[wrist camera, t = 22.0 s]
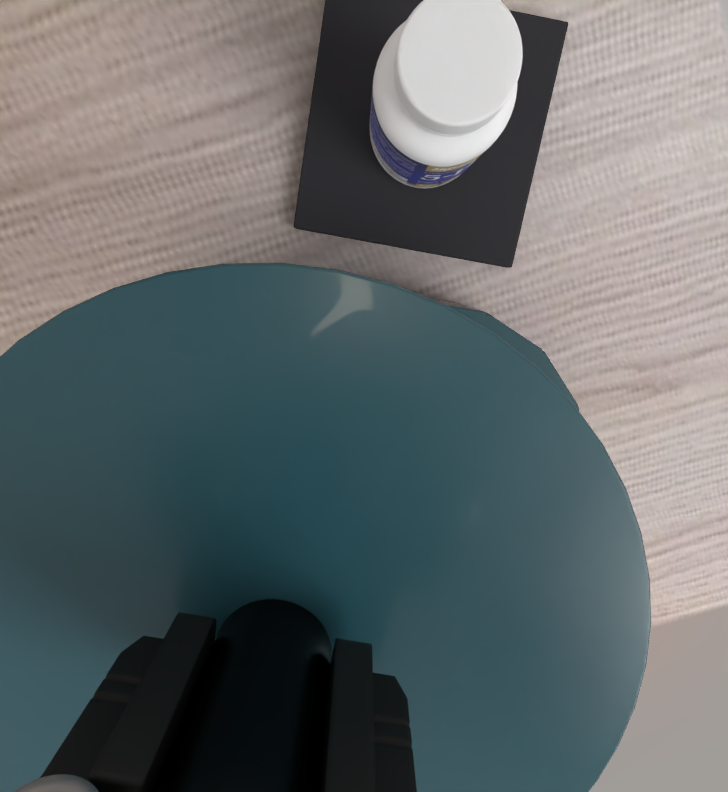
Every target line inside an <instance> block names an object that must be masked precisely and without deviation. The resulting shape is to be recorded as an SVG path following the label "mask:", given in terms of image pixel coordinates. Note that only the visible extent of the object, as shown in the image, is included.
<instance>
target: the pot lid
mask: <svg viewBox="0 0 728 792" xmlns="http://www.w3.org/2000/svg"><path fill="white" fill-rule="evenodd" d="M179 612H181V613H187V614H193V615H200V616H206V617H212V618H216V620H217V625H216V633H215V640H214V644H213V647H212V649H211V652H210V654H209V657H208V659H207V661H206V664H205V666H204V669H203V671H202V674H201V676H200V679H199V681H198V684H197V686H196V688H195V691H194V693H193V696H192V698H191V701H190V703H189V706H188V708H187V711H186V713H185V715H184V718H183V720H182V723H181V725H180V728H179V730H178V733H177V735H176V738H175V740H174V742H173V745H172V747H171V750H170V752H169V755H168V757H167V760H166V762H165V765H164V767H163V769H162V772H161V774H160V777H159V779H158V782H157V784H156V787H155V789H154V792H319V783H320V772H321V761H322V749H323V738H324V727H325V716H326V704H327V693H328V682H329V670H330V663H331V658H332V653H333V648H334V643H335V639H336V638H339V639H346V640H352V641H358V642H364V643H370V644H372V658H373V673H378V674H385V675H391V676H395V677H396V679H397V681H398V683H399V684H400V686H401V688H402V690H403V691H404V693H405V695H406V697H407V699H408V709H409V719H410V726H409V727H410V729H411V739H412V749H413V759H414V768H415V778H416V788H417V792H589V790H590V789H591V788H592V786H593V785H594V784H595V783H596V782H597V780H598V779H599V777H600V775H601V774H602V772H603V770H604V769H605V767H606V765H607V763H608V762H609V760H610V759H611V757H612V755H613V754H614V752H615V750H616V749H617V747H618V745H619V743H620V741H621V738H622V736H623V734H624V731H625V729H626V727H627V724H628V722H629V720H630V717H631V715H632V713H633V710H634V708H635V705H636V701H637V698H638V694H639V690H640V686H641V683H642V679H643V675H644V671H645V668H646V661H647V653H648V644H649V635H650V627H651V608H650V578H649V573H648V567H647V562H646V557H645V551H644V546H643V540H642V535H641V531H640V528H639V525H638V522H637V519H636V517H635V514H634V511H633V508H632V505H631V502H630V499H629V496H628V493H627V490H626V488H625V486H624V484H623V482H622V480H621V478H620V476H619V474H618V472H617V471H616V469H615V467H614V465H613V463H612V461H611V459H610V457H609V455H608V453H607V451H606V449H605V447H604V446H603V444H602V443H601V441H600V440H599V439H598V437H597V436H596V434H595V433H594V432H593V430H592V429H591V427H590V426H589V425H588V423H587V422H586V421H585V419H584V418H583V416H582V415H581V414H580V412H579V411H578V409H577V408H576V407H575V405H574V404H573V403H572V402H571V401H570V400H569V399H568V398H567V397H566V396H565V395H564V394H563V393H562V392H561V391H560V390H559V389H558V388H557V386H556V385H555V384H554V383H553V382H552V381H551V380H550V379H549V378H548V377H547V376H546V375H545V374H544V373H543V372H542V371H541V370H540V369H539V368H538V367H537V366H536V365H535V364H533V363H532V362H531V361H529V360H528V359H527V358H526V357H524V356H523V355H522V354H520V353H519V352H518V351H517V350H515V349H514V348H513V347H511V346H510V345H509V344H508V343H506V342H505V341H504V340H502V339H501V338H500V337H499V336H497V335H496V334H495V333H493V332H491V331H489V330H488V329H486V328H484V327H483V326H481V325H479V324H477V323H476V322H474V321H472V320H470V319H469V318H467V317H465V316H464V315H462V314H460V313H458V312H457V311H455V310H453V309H451V308H450V307H448V306H446V305H444V304H441V303H439V302H436V301H434V300H431V299H429V298H426V297H424V296H422V295H419V294H417V293H414V292H412V291H409V290H407V289H404V288H402V287H400V286H397V285H395V284H391V283H388V282H384V281H380V280H376V279H372V278H368V277H365V276H361V275H357V274H353V273H349V272H345V271H341V270H336V269H328V268H319V267H311V266H303V265H295V264H286V263H236V264H218V265H211V266H205V267H198V268H191V269H185V270H178V271H172V272H166V273H163V274H159V275H156V276H153V277H149V278H146V279H142V280H139V281H136V282H132V283H129V284H126V285H122V286H119V287H115V288H113V289H110V290H108V291H106V292H104V293H102V294H99V295H97V296H95V297H93V298H91V299H89V300H86V301H84V302H82V303H80V304H78V305H75V306H73V307H71V308H69V309H67V310H65V311H63V312H61V313H60V314H58V315H57V316H55V317H54V318H52V319H50V320H49V321H47V322H46V323H44V324H43V325H41V326H40V327H38V328H37V329H35V330H33V331H32V332H30V333H29V334H27V335H26V336H24V337H23V338H21V339H20V340H18V341H17V342H16V343H15V344H14V345H13V346H12V347H10V348H9V349H8V350H7V351H6V352H5V353H4V354H3V355H1V356H0V792H14V791H15V790H16V789H18V788H20V787H22V786H23V785H25V784H27V783H29V782H32V781H34V780H36V779H39V778H40V777H41V775H42V774H43V773H44V771H45V770H46V768H47V766H48V765H49V763H50V762H51V760H52V759H53V757H54V756H55V754H56V752H57V751H58V749H59V748H60V746H61V745H62V743H63V742H64V740H65V738H66V737H67V735H68V734H69V732H70V731H71V729H72V728H73V726H74V724H75V723H76V721H77V720H78V718H79V717H80V715H81V714H82V712H83V710H84V709H85V707H86V706H87V704H88V703H89V701H90V700H91V698H92V699H93V697H94V693H95V692H96V690H97V689H98V687H99V686H100V684H101V682H102V681H103V679H105V678H106V675H107V673H108V671H109V670H110V668H111V667H112V665H113V664H114V662H115V661H116V659H117V657H118V656H119V654H120V653H121V652H122V651H123V650H125V649H126V648H127V647H129V646H130V645H132V644H133V643H134V642H136V641H137V640H138V639H140V638H141V637H142V636H150V637H156V638H162V639H164V637H165V635H166V633H167V631H168V630H169V628H170V626H171V624H172V622H173V621H174V619H175V617H176V615H177V614H178V613H179Z"/></svg>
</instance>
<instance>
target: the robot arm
mask: <svg viewBox="0 0 728 792" xmlns="http://www.w3.org/2000/svg"><path fill="white" fill-rule="evenodd" d="M216 625H217V620H216V618H212V617H206V616H200V615H193V614H187V613H181V612H179V613H178V614H177V615H176V617H175V619H174V621H173V622H172V624H171V626H170V628H169V630H168V631H167V633H166V635H165V637H164V639H162V638H156V637H150V636H142V637H141V638H140V639H138V640H137V641H136V642H134V643H133V644H132V645H130V646H129V647H127V648H126V649H125V650H123V651H122V652H121V653H120V654H119V656H118V657H117V659H116V661H115V662H114V664H113V665H112V667H111V668H110V670H109V671H108V673H107V675H106V678H105V679H103V681H102V682H101V684H100V686H99V687H98V689H97V690H96V692H95V693H94V697H93V699H92V698H91V700H90V701H89V703H88V704H87V706H86V707H85V709H84V710H83V712H82V714H81V715H80V717H79V718H78V720H77V721H76V723H75V724H74V726H73V728H72V729H71V731H70V732H69V734H68V735H67V737H66V738H65V740H64V742H63V743H62V745H61V746H60V748H59V749H58V751H57V752H56V754H55V756H54V757H53V759H52V760H51V762H50V763H49V765H48V766H47V768H46V770H45V771H44V773H43V774H42V775H41V777H40V778H39V779H36V780H34V781H32V782H29V783H27V784H25V785H23V786H22V787H20V788H18V789H16V790H15V791H14V792H154V789H155V787H156V784H157V782H158V779H159V777H160V774H161V772H162V769H163V767H164V765H165V762H166V760H167V757H168V755H169V752H170V750H171V747H172V745H173V742H174V740H175V738H176V735H177V733H178V730H179V728H180V725H181V723H182V720H183V718H184V715H185V713H186V711H187V708H188V706H189V703H190V701H191V698H192V696H193V693H194V691H195V688H196V686H197V684H198V681H199V679H200V676H201V674H202V671H203V669H204V666H205V664H206V661H207V659H208V657H209V654H210V652H211V649H212V647H213V644H214V640H215V633H216ZM409 726H410V719H409V709H408V699H407V697H406V695H405V693H404V691H403V690H402V688H401V686H400V684H399V683H398V681H397V679H396V677H395V676H391V675H385V674H378V673H373V658H372V644H370V643H364V642H358V641H352V640H346V639H339V638H336V639H335V643H334V648H333V653H332V658H331V663H330V670H329V682H328V693H327V704H326V716H325V727H324V738H323V749H322V761H321V772H320V783H319V792H417V788H416V778H415V768H414V759H413V749H412V739H411V729H410V727H409Z"/></svg>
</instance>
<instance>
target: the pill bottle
mask: <svg viewBox="0 0 728 792" xmlns="http://www.w3.org/2000/svg"><path fill="white" fill-rule="evenodd" d="M522 58H523V51H522V40H521V36H520V32H519V29H518V26H517V24H516V21H515V19H514V18H513V16H512V14H511V13H510V11H509V10H508V8H507V7H506V6H505V5H504V4H503V3H502V2H501V1H500V0H423V1H422V2H421V3H420V4H419V5H418V6H417V7H416V8H415V9H414V11H413V12H412V13H411V15H410V16H409V17H408V19H407V20H406V21H405V22H404V23H402V24H401V25H400V26H399V27H398V28H397V29H396V30H395V31H394V32H393V34H392V35H391V36H390V38H389V39H388V41H387V42H386V44H385V45H384V47H383V49H382V51H381V54H380V56H379V59H378V61H377V65H376V68H375V72H374V77H373V87H372V99H371V110H370V139H371V144H372V147H373V150H374V153H375V155H376V157H377V159H378V161H379V163H380V164H381V166H382V167H383V168H384V170H385V171H386V172H387V173H388V174H389V175H391V176H392V177H393V178H394V179H396V180H397V181H399V182H401V183H403V184H405V185H408V186H411V187H415V188H434V187H438V186H441V185H444V184H446V183H448V182H450V181H452V180H454V179H455V178H457V177H458V176H459V175H461V174H462V173H463V172H464V171H465V170H466V169H467V168H468V167H469V166H470V165H471V164H472V163H473V162H474V161H475V160H476V159H477V158H478V157H479V156H480V155H482V154H483V153H484V152H485V151H486V150H487V149H488V148H489V147H490V146H491V145H492V144H493V143H494V142H495V141H496V140H497V138H498V137H499V136H500V134H501V133H502V132H503V130H504V128H505V127H506V125H507V123H508V121H509V119H510V117H511V114H512V111H513V108H514V104H515V101H516V94H517V81H518V78H519V75H520V71H521V66H522Z"/></svg>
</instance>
